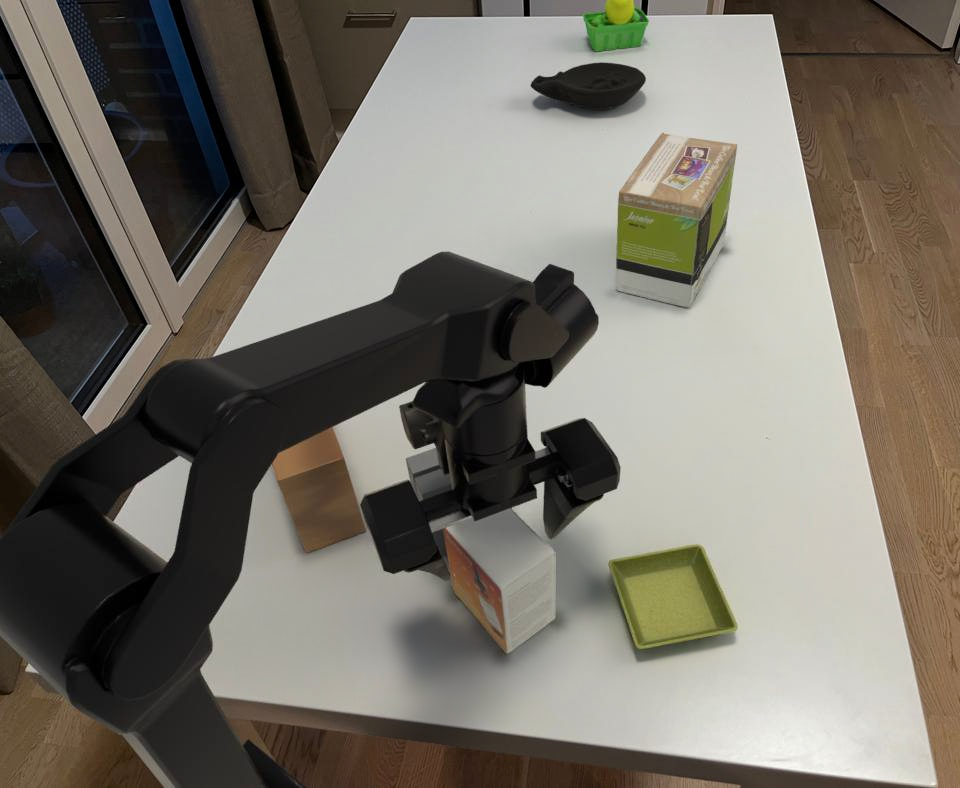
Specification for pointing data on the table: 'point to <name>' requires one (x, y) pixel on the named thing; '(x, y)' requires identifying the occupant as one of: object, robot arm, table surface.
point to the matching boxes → (318, 491)
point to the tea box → (673, 218)
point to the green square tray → (671, 596)
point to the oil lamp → (592, 85)
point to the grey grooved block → (429, 484)
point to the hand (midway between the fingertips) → (498, 554)
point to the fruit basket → (616, 26)
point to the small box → (503, 575)
